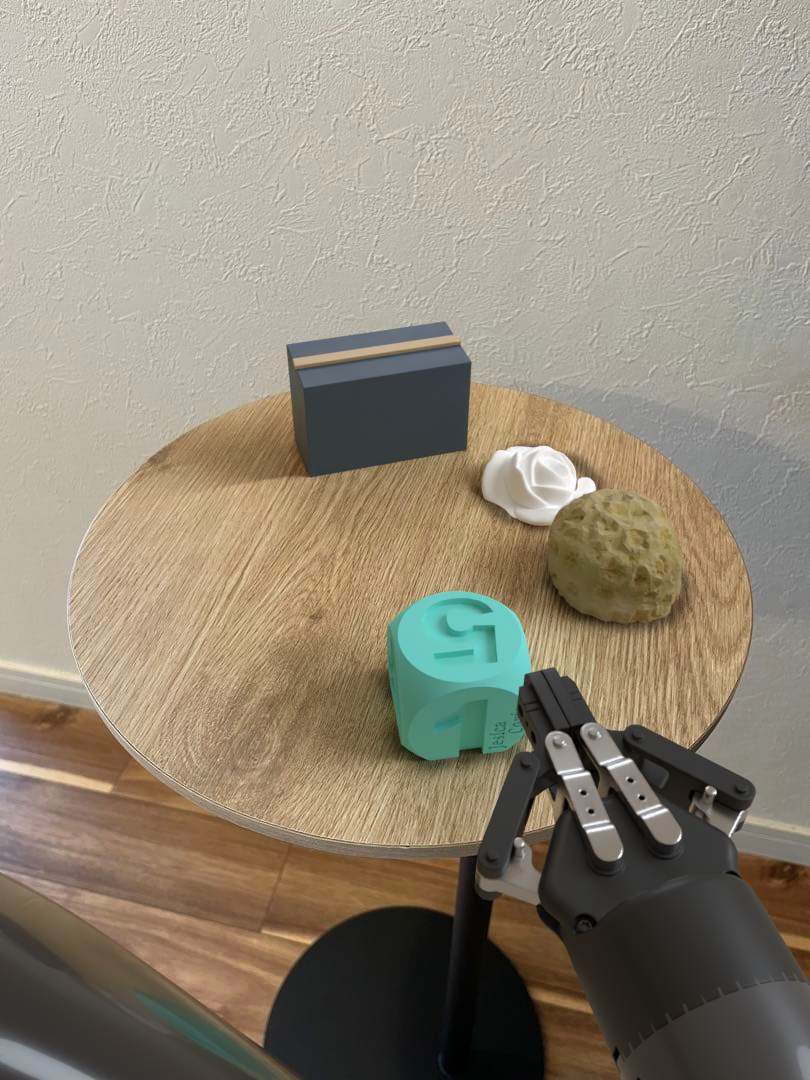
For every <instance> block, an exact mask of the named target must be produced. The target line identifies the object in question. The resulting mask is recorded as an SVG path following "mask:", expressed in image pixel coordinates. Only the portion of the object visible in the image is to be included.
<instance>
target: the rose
mask: <svg viewBox="0 0 810 1080" xmlns="http://www.w3.org/2000/svg"><path fill="white" fill-rule="evenodd" d="M576 486H577V487H576ZM596 490H597V487H596V483H595V482H594V480H593V479H592V478H590V477H587V476H586V477H585V476H584V477H583V476H582V477H579V478H577V472H576V468H575V465H574V464H573V462H572V461H571V460H570V458H568V457H567V455H566V454H564V453H563V452H561V451H559V450H555V449H554V448H552V447H550V446H548V445H538V446H534V447H532V446H523V445H522V446H521V445H520V446H519V445H518V446H517V445H516V446H511V447H508V448H506V449H505V450H504V449H498V450H496V451H495V452H494V453H493V454H492V456H491V458H490V460H489V461H488V462H487V464H486V465H485V467H484V469H483V472H482V476H481V492H482V496H483V499H484V500H486V501H488V502H491V503H493V504H495V505H497V506H499V507H501V508H503V510H505V511H506V512H507V513H508V514H509V516H511V517H512V518H513V519H517V520H518V521H520V522H523V523H525V524H528V525H532V526H537V527H538V526H540V527H541V526H544V527H545V526H551V524H552V522H553V520H554V518H555V516H556V514H557V512H558V511H559V510H560V509H561V508H562V507H564V506H566V505H568V504H569V503H570V502H571V501H572V500H574V499H575V498H579V497H581V496H582V495H583V494H587V493H591V492H593V491H596Z"/></svg>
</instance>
